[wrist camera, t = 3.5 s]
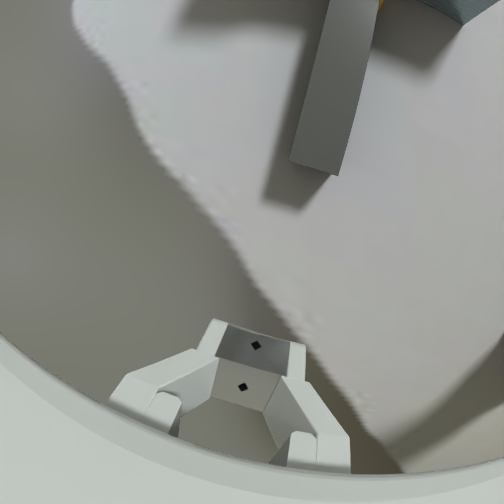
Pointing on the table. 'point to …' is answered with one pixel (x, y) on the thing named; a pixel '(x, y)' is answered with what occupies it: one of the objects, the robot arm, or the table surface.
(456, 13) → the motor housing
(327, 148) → the plug
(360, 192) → the table surface
